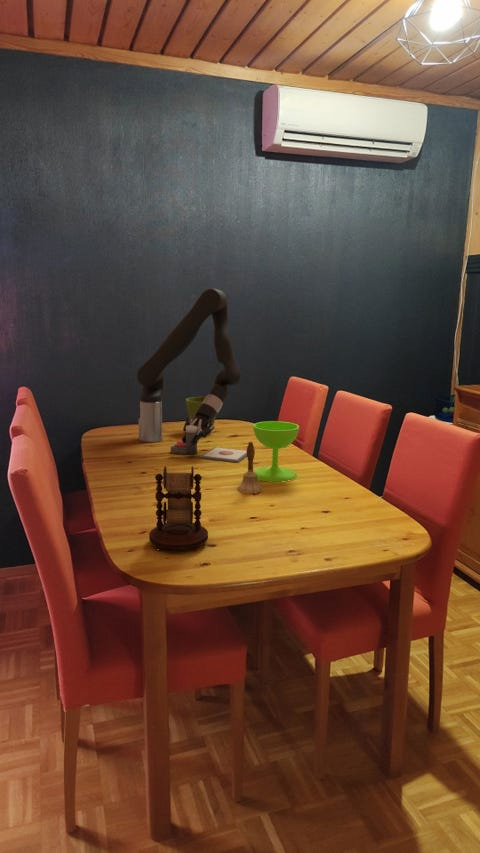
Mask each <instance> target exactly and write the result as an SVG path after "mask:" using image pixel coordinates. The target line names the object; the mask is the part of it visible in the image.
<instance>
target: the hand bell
mask: <svg viewBox="0 0 480 853" xmlns="http://www.w3.org/2000/svg"><path fill="white" fill-rule="evenodd" d="M246 450H247V457H246V458H247V471H246V472H244V473H243V476H242V477H243V478H242V482H241V484H239V486H237V488H236V489H237V491H238V492H239V491H240V492H239V493H242V492H245V493H244V494H247V493H255V492H259V491H262V489H263V487H262V486H261V485H260V483H259V480H258V477H257V474H256V473H255V472H254V458H255V452H256V451H255V446H254V443H253V442H252V441H249V442H248V445H247V448H246ZM262 492H263V491H262ZM255 494H256V493H255Z"/></svg>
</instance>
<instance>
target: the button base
mask: <svg viewBox="0 0 480 853" xmlns="http://www.w3.org/2000/svg"><path fill="white" fill-rule="evenodd" d="M170 454H175V455H176V454H178V455H185V456H187V455H186V448H181V447H177V443H175V444H174V445H172V446H170Z"/></svg>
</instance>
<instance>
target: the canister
mask: <svg viewBox="0 0 480 853" xmlns="http://www.w3.org/2000/svg"><path fill="white" fill-rule="evenodd" d="M196 433H197V426H195V425H188V426H186V455H185V456H197V455H198V443H197V444H195V446H194V445H192V444H191V441H192V439H193V438H194V436H195V435H196Z"/></svg>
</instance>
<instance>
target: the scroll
mask: <svg viewBox="0 0 480 853" xmlns="http://www.w3.org/2000/svg"><path fill="white" fill-rule="evenodd" d="M194 471H195V470H194V466H193V465H192V466H191V472H168V471H167V466H166V465H164V466H163V474H162V473H157V474H156V475H155V477H154V480H155V483H156V484H157V485H156V488H155V490H156V492H155V495H154V496H155V500H156V506H155V507H156V511H155V515H156V519H157V521H156V526H155V527H153V528H152V529H151V530H150V531H149V532H148V533H149V536H148V539H149V542H150V543H151V544H153V545H154V546H155V549H156V550H157V549H161V548H162V549H166V550H188V549H193V548H194V550H195V549H196V550H197V549H198V550H199V548H200V546H201V545H203V544H205V542H207V541H208V538H209V531H208V529H206V528H205V527H204V526H202V523H201V521H200V520H201V519H202V518H201V516H202V510H201V505H202V504H201V503H200V502H201V501H202V492H201V484H202V482H201V480H202V479H203V478H202V475H201V474H199V473H196V474H195V473H194ZM194 474H195V475H194ZM162 484H163V485H162ZM194 484H195V485H194ZM194 486H195V487H194ZM163 489H164V490H165V492H166V493H164V492H163ZM193 489H194V493H192V490H193ZM164 498H165V499H166V500H167V501H164V502H163V499H164ZM192 499H194V502H195V504H194V503H193V501H192ZM162 502H163V503H162ZM194 520H195V522H194ZM196 550H195V551H196ZM198 550H197V551H198Z"/></svg>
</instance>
